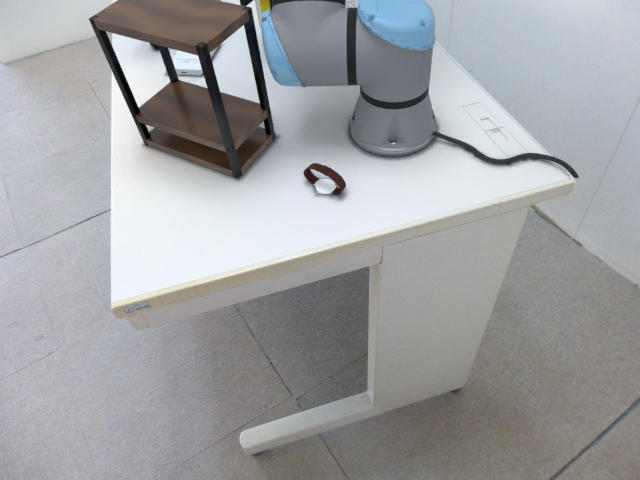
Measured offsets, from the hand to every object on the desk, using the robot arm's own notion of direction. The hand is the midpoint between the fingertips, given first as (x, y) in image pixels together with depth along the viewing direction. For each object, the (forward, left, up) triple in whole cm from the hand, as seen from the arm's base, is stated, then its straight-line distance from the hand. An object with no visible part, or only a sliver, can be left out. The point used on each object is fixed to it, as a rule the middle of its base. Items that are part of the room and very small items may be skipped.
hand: (256, 3), depth 99 cm
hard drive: (+14, +10, -13) cm, 22 cm away
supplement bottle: (+2, -5, -7) cm, 9 cm away
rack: (-13, +23, -13) cm, 30 cm away
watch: (-38, +14, -11) cm, 42 cm away
